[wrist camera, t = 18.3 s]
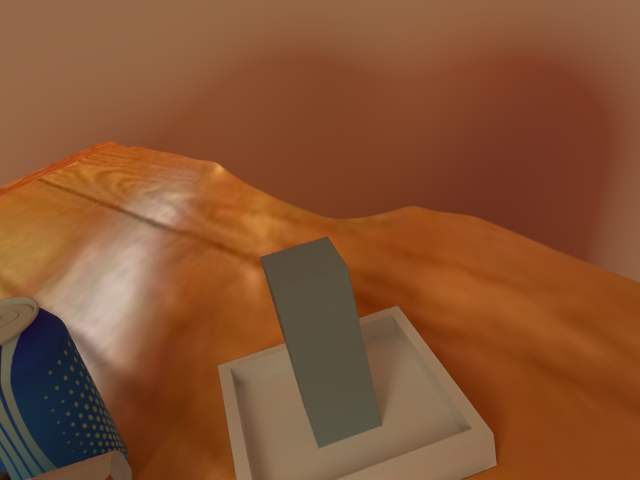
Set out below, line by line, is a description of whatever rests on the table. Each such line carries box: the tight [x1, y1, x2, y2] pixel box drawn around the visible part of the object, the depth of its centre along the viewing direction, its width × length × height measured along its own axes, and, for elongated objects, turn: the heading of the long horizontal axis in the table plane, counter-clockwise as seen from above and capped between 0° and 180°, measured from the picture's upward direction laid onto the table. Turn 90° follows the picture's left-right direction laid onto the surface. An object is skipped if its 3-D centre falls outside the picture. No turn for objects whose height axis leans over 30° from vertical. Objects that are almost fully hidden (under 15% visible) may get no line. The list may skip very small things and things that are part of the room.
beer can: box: [0, 297, 128, 480], centre depth 42 cm, size 8×8×16 cm
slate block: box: [260, 237, 382, 448], centre depth 42 cm, size 5×5×14 cm
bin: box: [218, 305, 497, 480], centre depth 45 cm, size 17×17×3 cm
